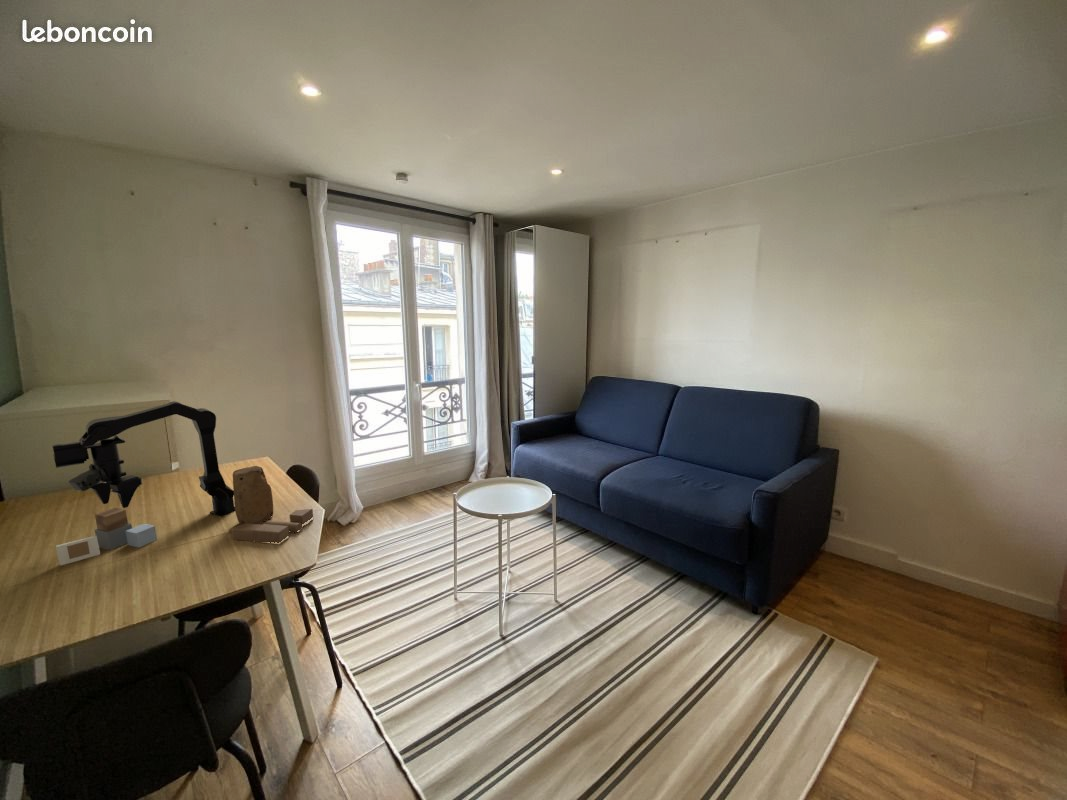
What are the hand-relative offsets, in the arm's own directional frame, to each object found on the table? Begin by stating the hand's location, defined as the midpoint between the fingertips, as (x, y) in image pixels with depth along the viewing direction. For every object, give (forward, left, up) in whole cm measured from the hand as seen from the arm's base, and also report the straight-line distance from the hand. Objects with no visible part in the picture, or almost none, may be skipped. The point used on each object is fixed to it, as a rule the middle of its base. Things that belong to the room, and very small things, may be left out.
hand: (115, 505), depth 128 cm
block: (-28, -23, -12) cm, 39 cm away
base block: (0, +2, -12) cm, 12 cm away
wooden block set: (-41, -21, -13) cm, 47 cm away
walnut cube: (0, +2, -6) cm, 7 cm away
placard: (-1, +11, -12) cm, 16 cm away
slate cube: (-7, -1, -12) cm, 14 cm away
